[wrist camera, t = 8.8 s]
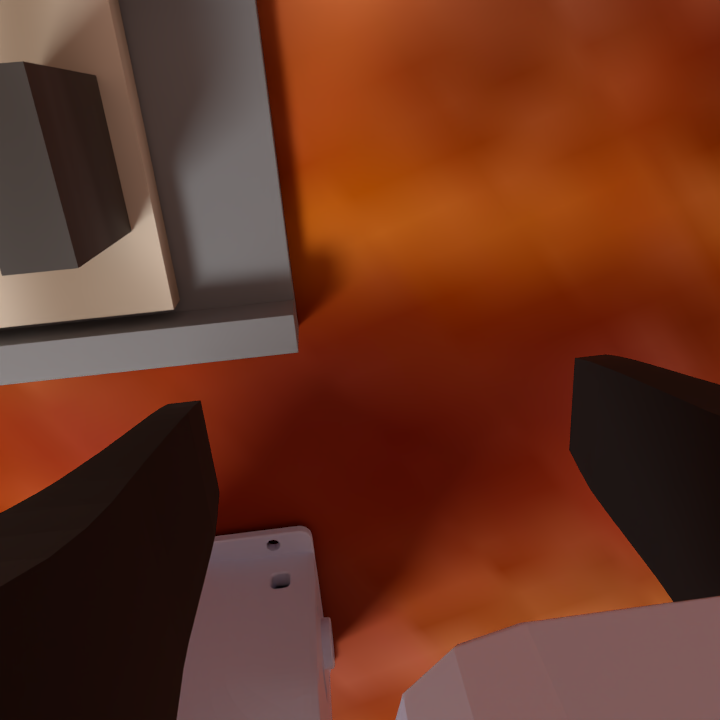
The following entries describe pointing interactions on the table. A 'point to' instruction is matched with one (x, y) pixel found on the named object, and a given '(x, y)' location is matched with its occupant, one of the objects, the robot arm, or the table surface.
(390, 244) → the table surface
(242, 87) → the channel
